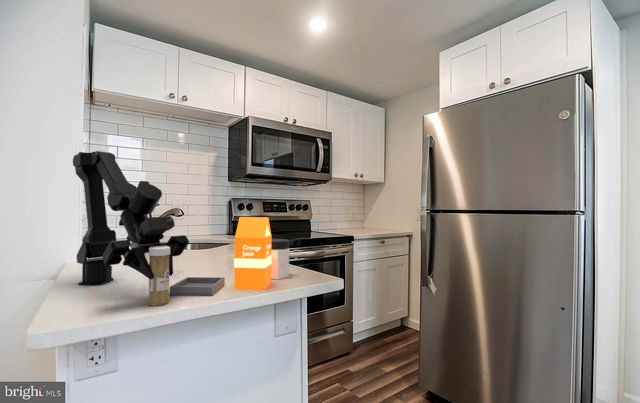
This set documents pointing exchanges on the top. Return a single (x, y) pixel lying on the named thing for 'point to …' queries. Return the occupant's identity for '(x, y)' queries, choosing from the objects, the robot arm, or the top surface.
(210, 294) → the tray
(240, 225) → the orange juice
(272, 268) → the jar
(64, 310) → the top surface
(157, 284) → the spice shaker
